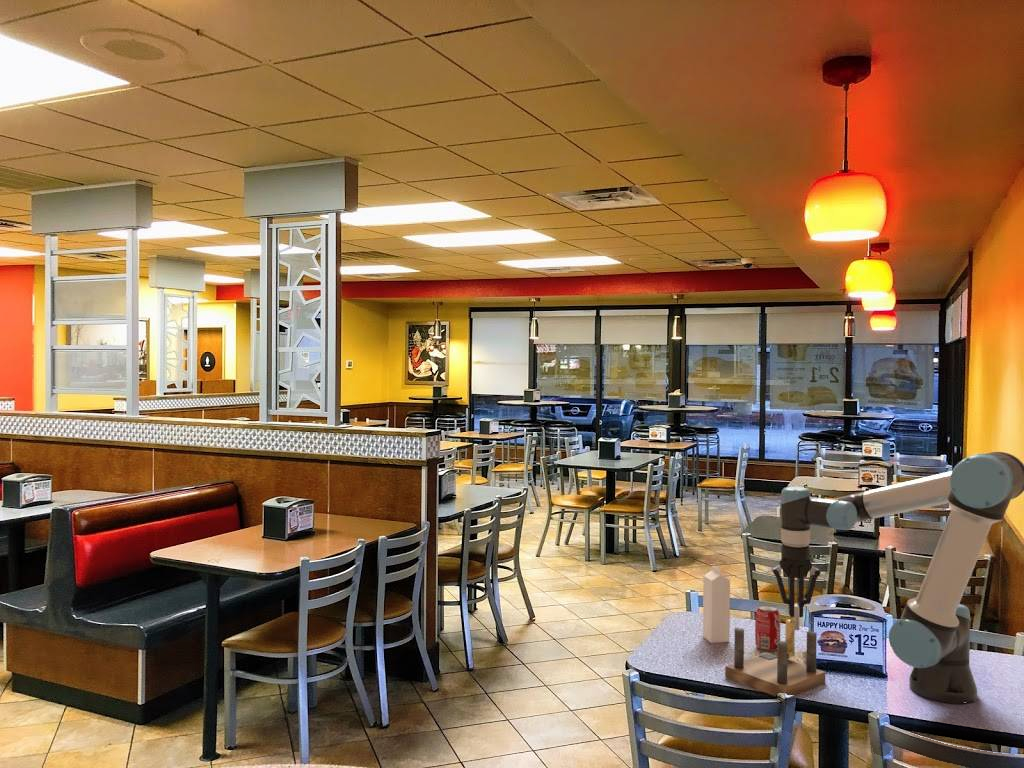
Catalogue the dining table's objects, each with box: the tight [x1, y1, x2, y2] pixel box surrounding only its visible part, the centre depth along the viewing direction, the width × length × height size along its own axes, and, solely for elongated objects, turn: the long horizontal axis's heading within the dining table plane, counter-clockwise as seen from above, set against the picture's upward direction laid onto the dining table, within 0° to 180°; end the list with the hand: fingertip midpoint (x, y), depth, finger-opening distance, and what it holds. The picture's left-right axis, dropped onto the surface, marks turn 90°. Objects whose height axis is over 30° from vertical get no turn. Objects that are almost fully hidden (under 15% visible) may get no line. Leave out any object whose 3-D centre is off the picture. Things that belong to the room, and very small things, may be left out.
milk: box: [702, 565, 731, 644], centre depth 238 cm, size 6×6×22 cm
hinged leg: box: [784, 618, 796, 660], centre depth 214 cm, size 5×2×9 cm, turn 144°
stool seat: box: [724, 627, 826, 697], centre depth 206 cm, size 18×18×13 cm
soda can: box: [754, 604, 781, 652], centre depth 231 cm, size 7×7×12 cm
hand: (796, 628), depth 216 cm, fingers closed
